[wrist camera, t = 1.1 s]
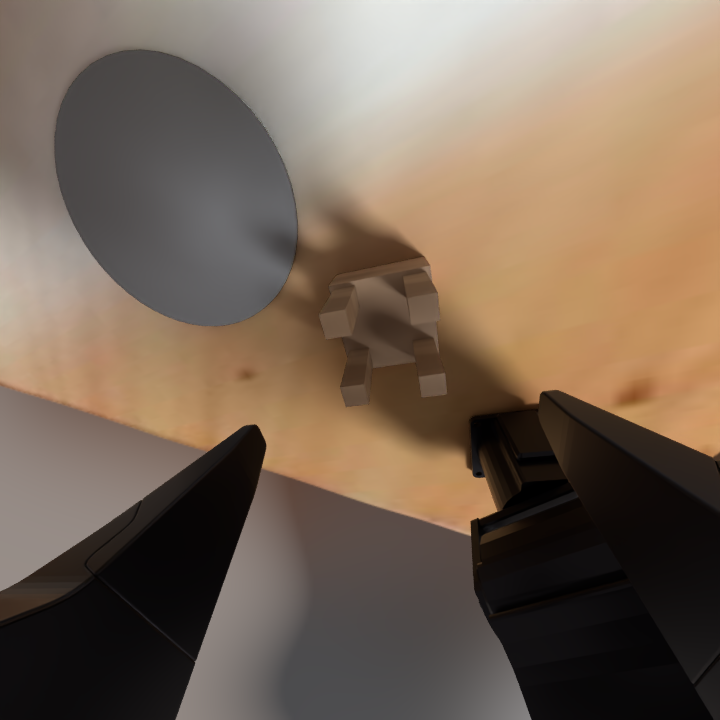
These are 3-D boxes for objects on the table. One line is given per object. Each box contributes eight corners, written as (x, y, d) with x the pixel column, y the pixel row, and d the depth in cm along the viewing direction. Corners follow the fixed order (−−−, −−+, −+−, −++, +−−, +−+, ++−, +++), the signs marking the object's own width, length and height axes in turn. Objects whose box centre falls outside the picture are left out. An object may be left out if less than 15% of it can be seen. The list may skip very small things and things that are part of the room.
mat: (325, 304, 19) (323, 306, 19) (148, 338, 22) (144, 340, 21) (241, 7, 13) (237, 2, 13) (5, 102, 15) (-4, 100, 15)
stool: (432, 337, 20) (453, 398, 14) (355, 350, 21) (342, 411, 15) (424, 256, 17) (443, 285, 11) (336, 274, 18) (311, 309, 12)
